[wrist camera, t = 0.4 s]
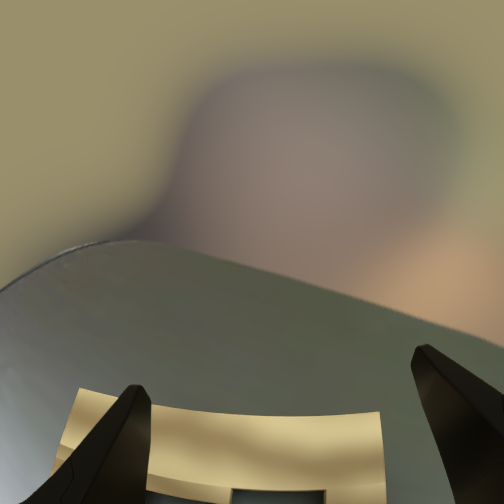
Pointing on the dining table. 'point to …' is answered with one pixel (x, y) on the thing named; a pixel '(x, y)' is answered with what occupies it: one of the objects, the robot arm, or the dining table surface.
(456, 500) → the robot arm
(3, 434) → the dining table surface
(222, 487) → the keyhole board
